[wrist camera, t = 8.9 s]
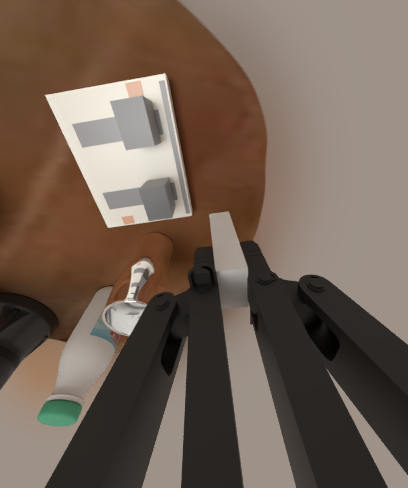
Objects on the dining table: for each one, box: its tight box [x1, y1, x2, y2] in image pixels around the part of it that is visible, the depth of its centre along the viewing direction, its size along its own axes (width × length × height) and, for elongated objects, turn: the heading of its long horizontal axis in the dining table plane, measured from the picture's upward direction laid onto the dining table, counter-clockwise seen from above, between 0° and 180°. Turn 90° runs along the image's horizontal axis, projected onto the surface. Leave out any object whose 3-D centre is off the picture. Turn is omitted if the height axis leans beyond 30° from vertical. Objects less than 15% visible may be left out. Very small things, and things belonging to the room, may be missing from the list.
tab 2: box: [138, 177, 176, 221], centre depth 24 cm, size 3×4×4 cm
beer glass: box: [102, 232, 174, 336], centre depth 27 cm, size 7×7×15 cm
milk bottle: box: [38, 286, 121, 426], centre depth 32 cm, size 8×8×20 cm
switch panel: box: [45, 74, 192, 228], centre depth 25 cm, size 13×16×3 cm
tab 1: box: [110, 96, 161, 150], centre depth 19 cm, size 3×4×4 cm
